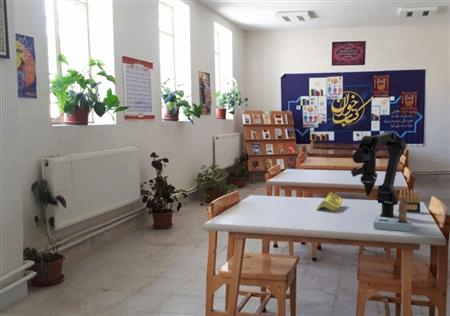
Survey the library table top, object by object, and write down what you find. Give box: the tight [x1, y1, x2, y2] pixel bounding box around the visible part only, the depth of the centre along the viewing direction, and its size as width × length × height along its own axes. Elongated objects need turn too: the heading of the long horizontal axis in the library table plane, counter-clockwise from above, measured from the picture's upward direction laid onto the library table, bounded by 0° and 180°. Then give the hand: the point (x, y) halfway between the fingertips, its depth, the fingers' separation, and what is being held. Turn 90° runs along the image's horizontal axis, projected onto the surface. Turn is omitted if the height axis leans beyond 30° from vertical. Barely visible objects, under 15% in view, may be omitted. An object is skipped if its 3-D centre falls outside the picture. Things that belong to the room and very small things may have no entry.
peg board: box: [373, 217, 413, 232], centre depth 223 cm, size 10×16×3 cm, turn 68°
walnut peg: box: [398, 196, 408, 223], centre depth 221 cm, size 3×3×14 cm
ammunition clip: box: [397, 188, 421, 213], centre depth 258 cm, size 11×2×12 cm, turn 79°
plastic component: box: [316, 192, 344, 213], centre depth 269 cm, size 20×7×10 cm
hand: (368, 194), depth 236 cm, fingers open, 9 cm apart
